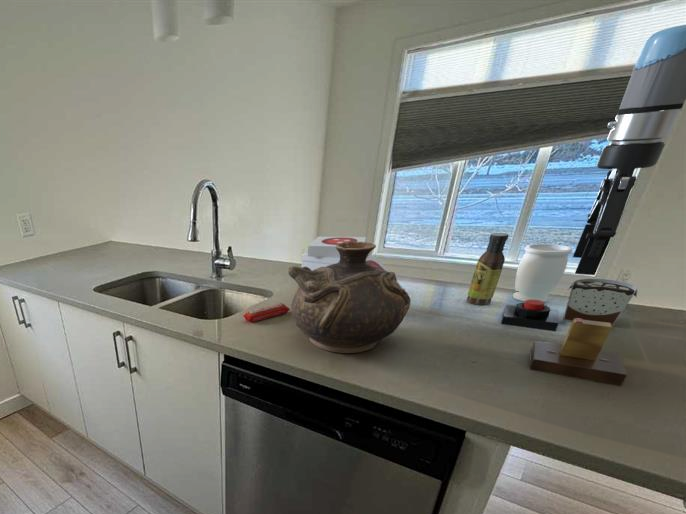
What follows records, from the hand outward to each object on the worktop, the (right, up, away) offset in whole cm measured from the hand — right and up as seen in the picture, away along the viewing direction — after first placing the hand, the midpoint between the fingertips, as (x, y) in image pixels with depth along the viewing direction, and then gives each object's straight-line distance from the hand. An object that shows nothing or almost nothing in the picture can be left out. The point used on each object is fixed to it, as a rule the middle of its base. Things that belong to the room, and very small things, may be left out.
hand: (582, 265), depth 81 cm
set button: (+12, -4, +25) cm, 28 cm away
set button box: (+13, -7, +27) cm, 31 cm away
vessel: (-37, -12, +27) cm, 47 cm away
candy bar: (-53, -3, +45) cm, 70 cm away
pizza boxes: (-25, +4, +53) cm, 59 cm away
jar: (+25, +2, +40) cm, 47 cm away
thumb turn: (+4, -18, +5) cm, 19 cm away
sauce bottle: (+10, +1, +41) cm, 42 cm away
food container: (+26, -7, +25) cm, 37 cm away
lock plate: (+4, -20, +6) cm, 21 cm away
